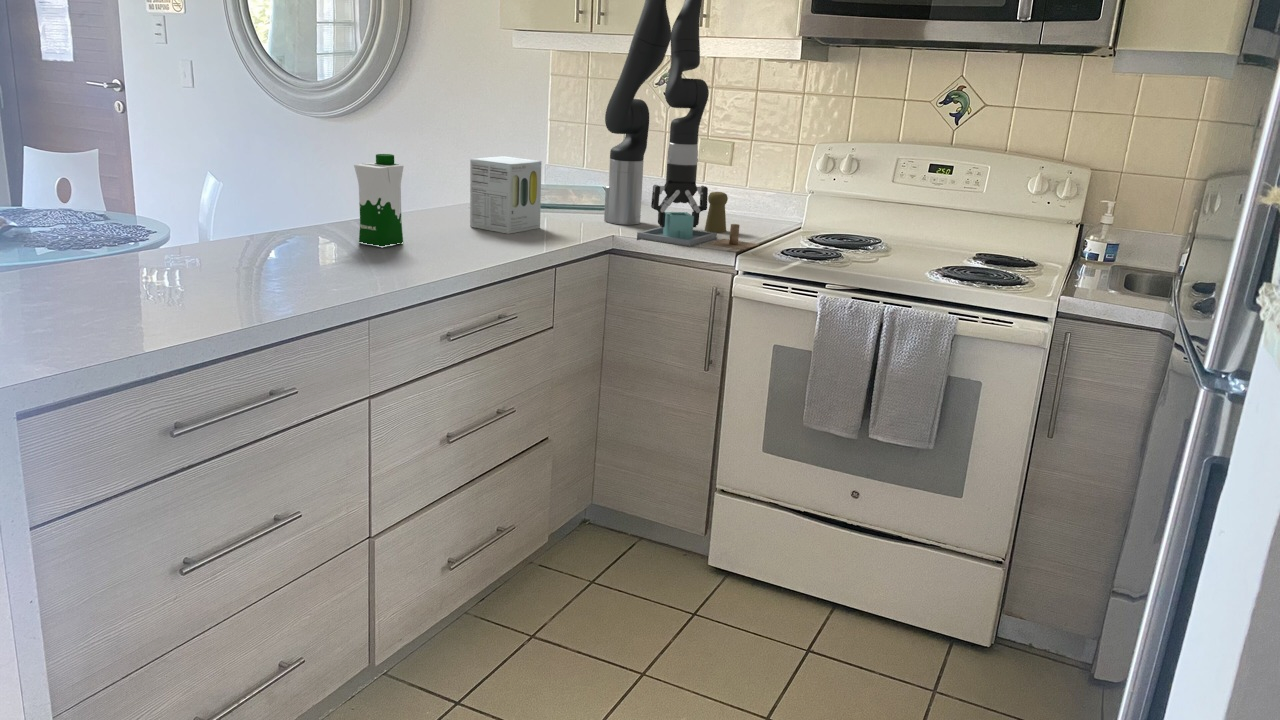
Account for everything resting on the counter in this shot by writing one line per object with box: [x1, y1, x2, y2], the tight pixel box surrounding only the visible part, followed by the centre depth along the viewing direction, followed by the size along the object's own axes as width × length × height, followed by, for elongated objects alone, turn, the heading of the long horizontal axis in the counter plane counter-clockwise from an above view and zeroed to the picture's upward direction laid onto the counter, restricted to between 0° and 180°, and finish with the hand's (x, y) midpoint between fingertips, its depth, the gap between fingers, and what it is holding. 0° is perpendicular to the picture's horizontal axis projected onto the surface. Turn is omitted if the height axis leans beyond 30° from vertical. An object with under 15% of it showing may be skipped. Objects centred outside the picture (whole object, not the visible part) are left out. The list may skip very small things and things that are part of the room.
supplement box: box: [469, 155, 542, 235], centre depth 241 cm, size 13×13×18 cm
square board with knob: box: [707, 223, 760, 251], centre depth 235 cm, size 10×10×6 cm
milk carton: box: [353, 153, 404, 246], centre depth 212 cm, size 9×9×20 cm
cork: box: [704, 191, 729, 234], centre depth 251 cm, size 6×6×11 cm
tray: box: [636, 226, 718, 248], centre depth 239 cm, size 15×15×2 cm
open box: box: [663, 211, 694, 240], centre depth 237 cm, size 8×6×6 cm
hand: (677, 226), depth 238 cm, fingers open, 8 cm apart
